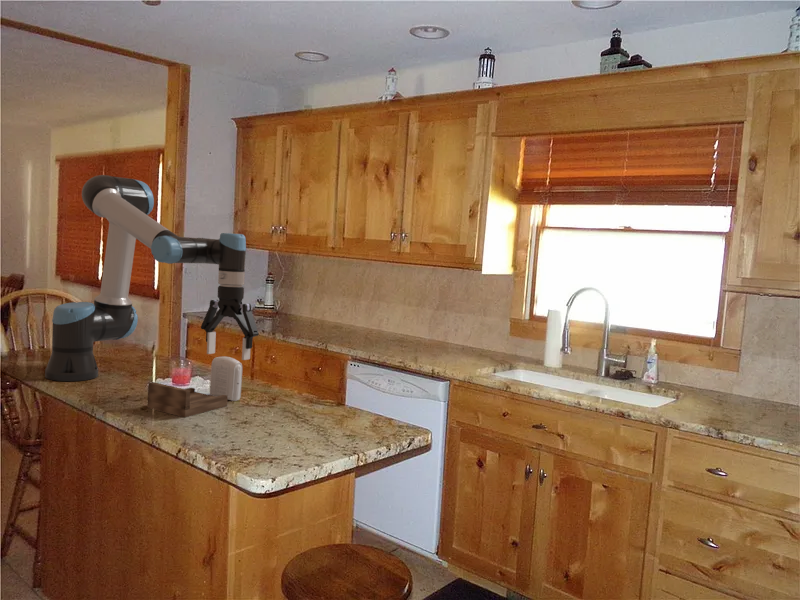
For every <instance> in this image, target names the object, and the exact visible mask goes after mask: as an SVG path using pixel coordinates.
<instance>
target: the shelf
mask: <svg viewBox="0 0 800 600" xmlns="http://www.w3.org/2000/svg"><path fill="white" fill-rule="evenodd" d="M147 384H148V386H147V407H146V408H147V409H151V410H154V411H159V412H163V413H166V414H169V415H174V416H179V417H182V418H189V417H192V416H195V415H198V414H202V413H203V414H204V413H207V412H211V411H214V410H217V409H221V408H225V407H227V406H228V400H227V396H226V395H221V396H217V397H216V396H212V395H210V394H206V393H202V392H197V391H196V389H195V388H194V387H189V388H188V387H187V388H181V387H176V386H173V385H167V384H163V383H159V382H155V381H151V382H148V383H147Z"/></svg>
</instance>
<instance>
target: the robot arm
mask: <svg viewBox="0 0 800 600" xmlns="http://www.w3.org/2000/svg"><path fill="white" fill-rule="evenodd" d="M81 199H82V202H83V204H84V205H85V207H86V208H87V209H88V210H89V211H91V212H92V213H93V214H94V215H96V216H97V217H99V218H105V219H106V220H107V221H108V223H109V224H108V230H107V239H106V246H105V255H104V262H103V271H102V278H101V286H100V293H99V294H98V295H96V296H95V297H94V301H93V303H92V302H88V301H77V302H76V301H73V302H67V303H62V304H59V305H57V306H55V308H54V309H53V314H52V320H51V323H52V336H51V337H52V341H51V355H50V357H49V360H48V363H47V364H46V367H45V372H44V377H45V378H46V379H47V380H51V381H58V382H81V381H88V380H93V379H96V378H98V377H99V368H98V364H97V360H96V358H95V355H94V343H96V342H103V341H104V342H105V341H114V340H115V341H116V340H120V339H125V338H128V337H129V336H131V335H132V334H134V332H135V330H136V328H137V326H138V321H139V319H138V318H139V317H138V314H137V310H136V308H135V307H134V306H133V301H132V300H131V299H130V297H129V292H130V287H131V278H132V277H131V276H132V271H133V265H134V256H135V249H136V240H138V241H139V242H140V243H142V244H143V245H144V246H146V247H147V248H149V249H150V251H151V255H153V259H154V260H156V262H159V263H165V264H169V265H170V264H207V265H208V264H210V265H218V279H217V280H218V281H217V282H218V284H219V286H218V287H217V298H218V299H210V301H209V307H208V309H207V311H206V314H205V316H204V319H203V320H202V323H201V325H200V328H201V330H204V331H205V334H206V335H205V341H206V355H213V354H215V353H216V342H217V341H216V339H217V338H216V337H217V335H216V334H217V332H216V328H217V327H218V325H219V324H220V323H221V321H222V320H223V319H224V318H225V317H228V318H233V319H234V321H236V324H238V326H239V328H240V330H241V333H242V334H243V335H244V337H242V345H241V346H242V351H241V352H242V353H241V361H247V360H250V359H251V349H252V348H253V342H254V341H253V340H254V337H258V336H259V335H260V334H259V330H258V326H257V323H256V321H255V317H254V315H253V311H252V305H251V303H243V299H244V297H245V296H244V295H245V287H244V285H245V278H246V277H245V275H246V274H245V273H246V272H245V271H246V269H245V267H246V266H245V265H246V252H247V243H246V241H247V240H246V236H245V235H244V234H243V233H230V232H222V233H220V234H219V238H218V239H215V238H205V237H190V236H189V237H184V236H179V235H177V234H176V233H174V232H173V231H172V230H170V229H168V228H167V227H165V226H164V225H162V224H161V223H160V222H158V221H157V220H155V219H153V218H152V217H151V216H149V215H150V214H151V212H152V211H153V208H154V205H155V199H154V194H153V191H152V190H151V188H150V186H149V185H148V183H145V182H144V181H141V180H139V179H135V178H128V177H120V176H112V175H107V174H99V175H94V176H93V177H91V178H89V179H88V180H87V181H85V183H84V184H83V186H82V189H81ZM218 308H219V309H218Z"/></svg>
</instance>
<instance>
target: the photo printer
mask: <svg viewBox="0 0 800 600" xmlns="http://www.w3.org/2000/svg"><path fill="white" fill-rule="evenodd" d="M210 368H211V369H210V384H209V395H211V396H215V397H217V396H221V395H226V396H227V401H228V400H229V401H231V402H232V401H233V402H236V401H240V399H241V397H242V396H241V395H242V383H243V381H242V380H243V364H242V362H240V361H239V360H237V359H236V358H234V357H232V356H231V357H230V356H218V357H217V356H216V357H214V358H213V359H212V361H211V367H210Z"/></svg>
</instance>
